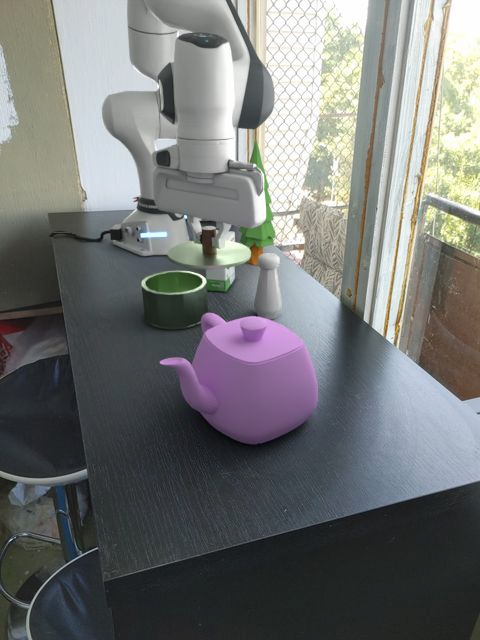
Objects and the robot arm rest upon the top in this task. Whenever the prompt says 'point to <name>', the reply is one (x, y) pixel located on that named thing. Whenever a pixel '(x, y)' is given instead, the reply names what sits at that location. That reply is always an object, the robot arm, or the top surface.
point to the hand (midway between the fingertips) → (209, 245)
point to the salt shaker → (268, 287)
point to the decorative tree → (265, 231)
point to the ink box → (221, 272)
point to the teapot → (249, 378)
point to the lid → (208, 253)
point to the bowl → (174, 299)
